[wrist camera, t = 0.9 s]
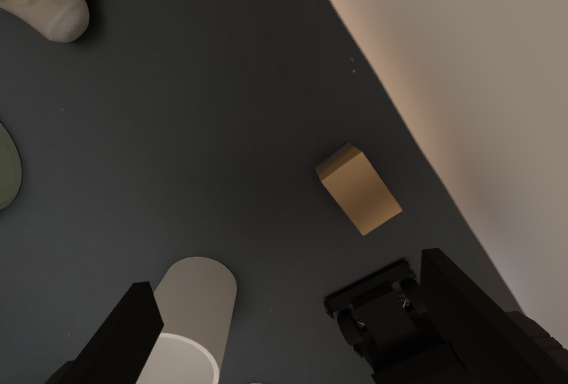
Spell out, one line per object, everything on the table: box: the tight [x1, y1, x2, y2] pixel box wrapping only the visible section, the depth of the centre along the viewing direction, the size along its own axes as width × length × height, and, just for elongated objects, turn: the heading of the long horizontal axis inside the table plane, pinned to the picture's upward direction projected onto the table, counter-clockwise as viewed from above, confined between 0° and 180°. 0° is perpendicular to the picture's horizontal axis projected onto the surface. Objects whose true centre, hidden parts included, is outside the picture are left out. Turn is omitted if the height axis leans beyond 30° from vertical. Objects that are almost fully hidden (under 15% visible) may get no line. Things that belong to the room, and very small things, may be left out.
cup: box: [136, 257, 237, 384], centre depth 27 cm, size 8×12×10 cm
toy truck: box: [324, 261, 479, 384], centre depth 31 cm, size 10×20×7 cm, turn 32°
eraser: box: [314, 142, 402, 236], centre depth 25 cm, size 6×4×4 cm, turn 38°
